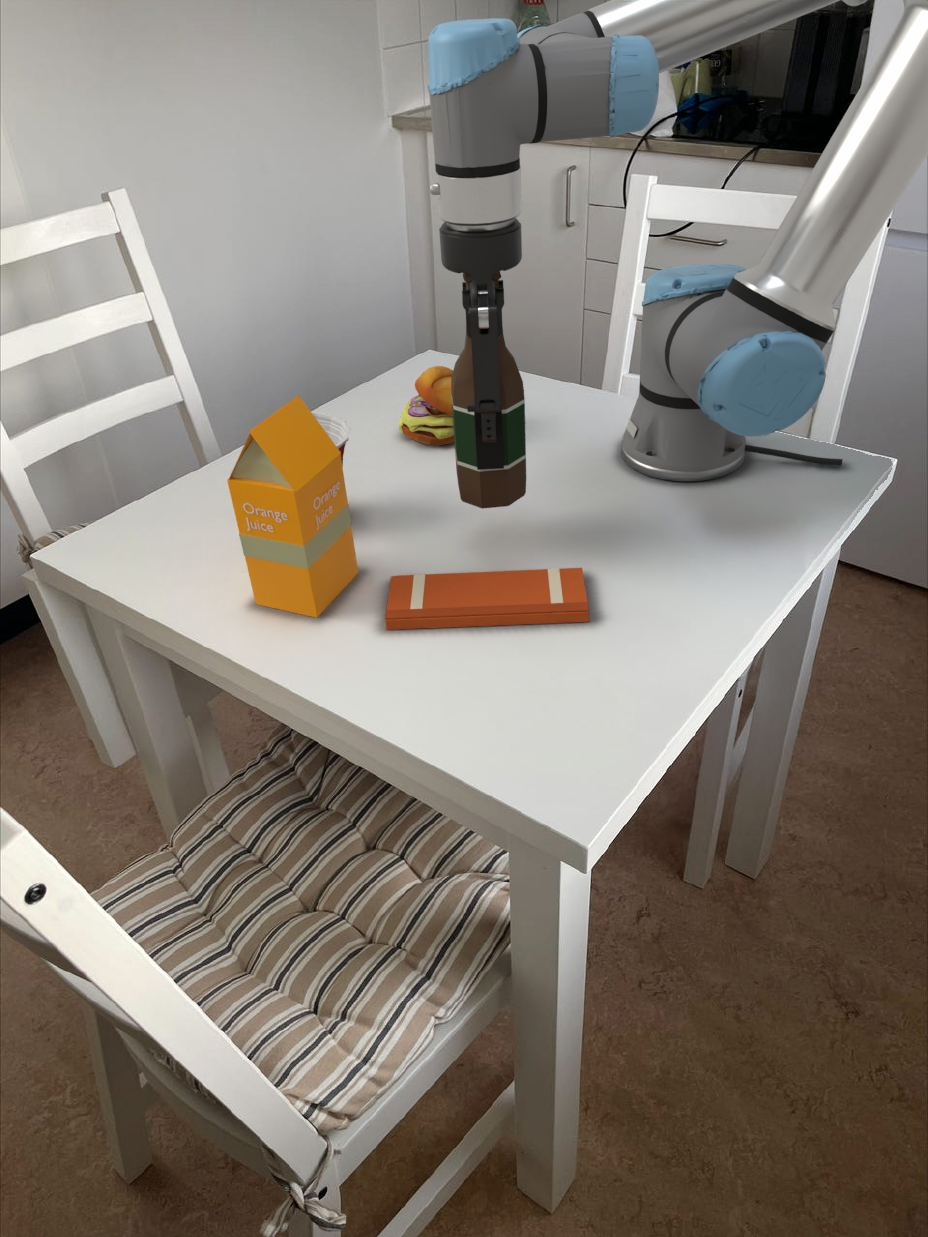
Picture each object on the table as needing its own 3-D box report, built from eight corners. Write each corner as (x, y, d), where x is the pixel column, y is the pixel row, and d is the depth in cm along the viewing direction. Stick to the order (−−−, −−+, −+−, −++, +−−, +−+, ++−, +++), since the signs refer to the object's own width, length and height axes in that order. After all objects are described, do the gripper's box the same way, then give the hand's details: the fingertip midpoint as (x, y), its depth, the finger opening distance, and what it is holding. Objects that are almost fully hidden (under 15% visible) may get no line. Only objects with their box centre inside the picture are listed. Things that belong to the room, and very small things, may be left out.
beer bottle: (477, 517, 98) (463, 282, 84) (443, 487, 104) (426, 263, 90) (541, 497, 101) (538, 266, 87) (505, 469, 107) (497, 248, 93)
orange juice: (254, 604, 99) (213, 426, 87) (299, 560, 105) (266, 390, 94) (318, 618, 96) (285, 437, 84) (360, 573, 102) (334, 398, 91)
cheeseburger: (404, 416, 135) (415, 349, 129) (477, 433, 135) (491, 367, 129) (390, 446, 127) (401, 377, 121) (468, 465, 127) (483, 396, 121)
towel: (581, 576, 99) (582, 565, 98) (588, 622, 93) (589, 610, 92) (392, 584, 100) (391, 573, 99) (386, 630, 94) (384, 618, 93)
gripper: (442, 197, 95) (456, 411, 108) (434, 253, 78) (452, 498, 92) (517, 192, 94) (522, 408, 108) (525, 248, 78) (529, 494, 91)
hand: (490, 449), depth 100 cm, fingers closed on beer bottle, 7 cm apart
